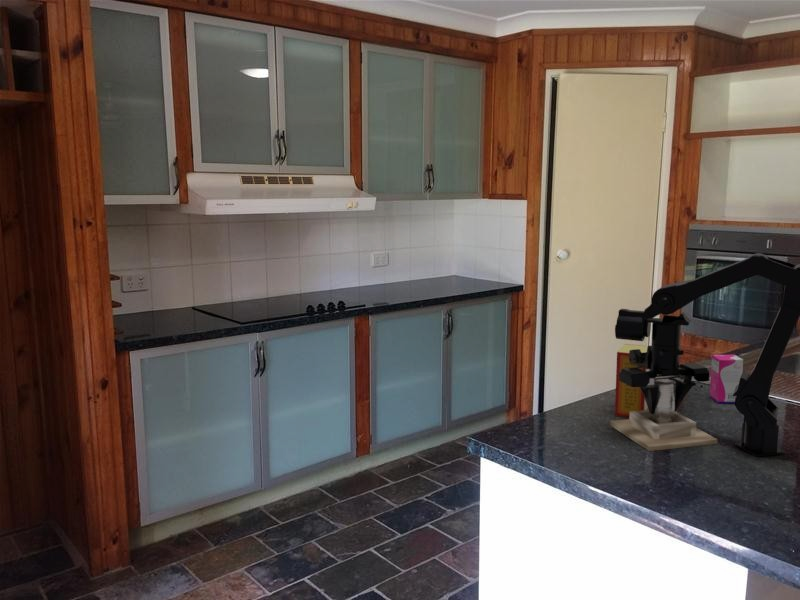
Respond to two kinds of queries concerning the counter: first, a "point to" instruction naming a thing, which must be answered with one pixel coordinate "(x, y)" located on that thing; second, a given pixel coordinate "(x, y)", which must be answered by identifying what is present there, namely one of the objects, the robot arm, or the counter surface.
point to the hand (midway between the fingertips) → (662, 412)
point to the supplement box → (725, 377)
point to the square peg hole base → (662, 432)
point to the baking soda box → (626, 394)
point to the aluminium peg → (664, 402)
